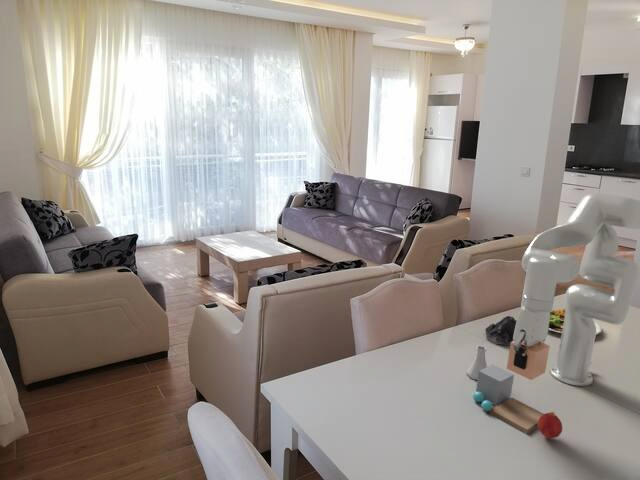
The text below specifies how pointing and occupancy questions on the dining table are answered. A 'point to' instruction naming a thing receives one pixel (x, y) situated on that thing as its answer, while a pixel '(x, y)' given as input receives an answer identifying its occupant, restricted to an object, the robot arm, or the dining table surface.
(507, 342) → the crystal cluster
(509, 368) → the peach cube
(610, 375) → the dining table surface
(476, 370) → the flask
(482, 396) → the teal marble
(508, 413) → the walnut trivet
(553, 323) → the plate of food
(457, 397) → the dining table surface
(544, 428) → the red rounded lump
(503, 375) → the gray cube
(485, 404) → the teal marble
